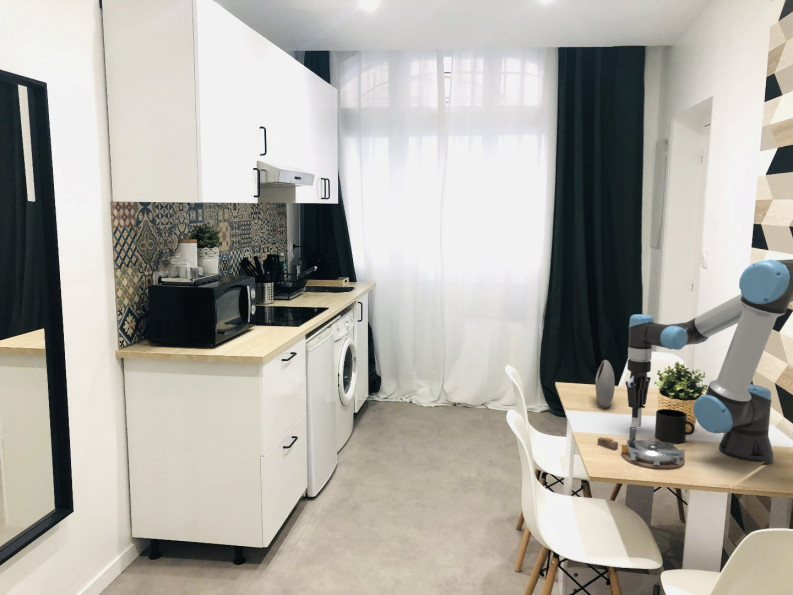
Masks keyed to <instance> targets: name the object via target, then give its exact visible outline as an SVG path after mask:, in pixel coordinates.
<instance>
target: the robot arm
mask: <svg viewBox="0 0 793 595" xmlns="http://www.w3.org/2000/svg"><path fill="white" fill-rule="evenodd" d="M738 287H739V290H740V294H738V295H736V296H733V297H732V298H730V299H728V300H727V301H725V302H723V303H721V304H719V305H717V306H715V307H713V308H711V309H709V310H708V311H706V312H703V313H702V314H700V315H698V316H696V317H694V318H692V319H690V320H688V321H686V322H678V323H671V324H670V323H669V324H664V323H663V324H662V323H658V322H657V323H656V322H654V317H653V315H650V314H640V313H639V314H637V313H636V314H632V315H630V317H629V325H628V348H627V358H628V359H627V365H626V366H627V370H628V371H629V372H630V376H629V380H627V381H625V386H626V391H627V403H628V407H629V408H631V423H630V425H631V426H630V427H635V428H641V427H642V415H643V414H642V411H643V410H642V409H646V404H647V397H648V393H649V387H650V386H649V385H650V382H651V380H652V379H651V377H649V376H648V373H650V372H651V369H652V361H651V360H652V350H653V346H655V347H659V348H664V349H669V350H674V351H675V350H677V351H678V350H679V351H680V350H682V349H683V348H684V347H685V346H688V345H698V344H702V343H704V342H706V341H707V340H708V339H709V338H710V337H711V336H712V337H713V335H716V334H718V333H719V332H722V331H724V330H726V329H729V328H731V327H733V326H735V325H736V328H735V330H734V334H733V336H732V338H731V341H730V344H729V347H728V349H727V351H726V354H725V357H724V360H723V362H722V365H721V368H720V370H719V373H718V376H717V377H716V379H713V380H711V381H710V382H709V384H708V385H707V389H706V392H705V394H703V395H700V396H699V397H698V398H696V400H695V401H694V403H693V414H694V418H696V421H697V423H698V425H700V427H701V428H702V429H704V430H705V431H707V432H709V433H711V434H723V436H722V438H721V440H720V442H719V444H718V451H719V452H720V453H721V454H723V455H725V456H727V457H730V458H733V459H736V460H738V461H739V460H740V461H745V462H757V463H762V464H761V465H768V464H771V463H773V462H774V450H773V448H772V443H771V440H770V437H769V436H770V435H769V430H770V429H769V428H770V420H771V419H770V418H771V403H772V402H773V401H772V391H771V390H770V389H769V388H768V387H765V386H761V385H757V384H756V385H755V384H752V381H753V378H754V376H755V375H756V374H755V373H756V371H757V368H758V365H759V363H760V361H761V359H762V355H763V353H764V351H765V349H766V347H767V344H768V341H769V339H770V336H771V333H772V331H773V329H774V327H775V323H776V321H777V318H778V317H781V316H783V315H784V316H785V314H786V313H787V311H788V308H789V305H790V303H792V302H793V259H767V260H766V259H765V260H761V261H757V262H754V263H751V264H750V265H749V266H748V267H746V268H745V269H744V270H743V272H742V273H741V276H740V277H739V282H738Z"/></svg>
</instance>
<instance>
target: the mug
mask: <svg viewBox="0 0 793 595" xmlns="http://www.w3.org/2000/svg"><path fill="white" fill-rule="evenodd" d="M687 417H688V414H687V413H686V412H684V411H682V410H677V409H671V408H662V409H661V408H660V409H658V410H656V411H655V427H654V437H655V439H656V440H657V441H659V442H663V443H672V444H683V443H685V442H686V440H687V439H686V438H687V437H686V436H689V435H692V434H693V433H694V432H695V428H696V427H695V425H694V424H693V422H691V421H688V420H687V419H688V418H687ZM687 425H689V426H690V427H691V430H690V431H687Z"/></svg>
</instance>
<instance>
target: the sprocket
mask: <svg viewBox="0 0 793 595" xmlns="http://www.w3.org/2000/svg"><path fill="white" fill-rule="evenodd" d="M628 437H629V438H628V439H627V440H626V441H627V442H626V444H621V452H622V453H627V454H628V455H629V456H631V459H632V460H634V461H636V460H640V461H644V462H649V463H653V464H654V465H659V466H660V464H669V463H673V464H676V465H677V464H680V458H684V459H685V451H684V449H679V448H677V447H676V446H674V445H675V443H666V442H662V441H659V440H653V439H652V438H646V439H638V440H636V437H637V427H635V426H630V427H629V436H628Z"/></svg>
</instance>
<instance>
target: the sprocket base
mask: <svg viewBox="0 0 793 595" xmlns="http://www.w3.org/2000/svg"><path fill="white" fill-rule="evenodd" d="M620 455H621V457H622V459H623V460H625V461H626V462H628V463H629V464H632V465H635V466H639V467H641V468H645V469H651V470H663V471H664V470H675V469H680V468H682V467H683V466H685V457H684V458H680V464H677V465H676V464H673V463H669V464H660V466H659V465H654V464H653V463H649V462H644V461H640V460H636V461H634V460H632V459H631V456H629V455H628V454H627V453H622V451H621V454H620Z"/></svg>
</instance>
